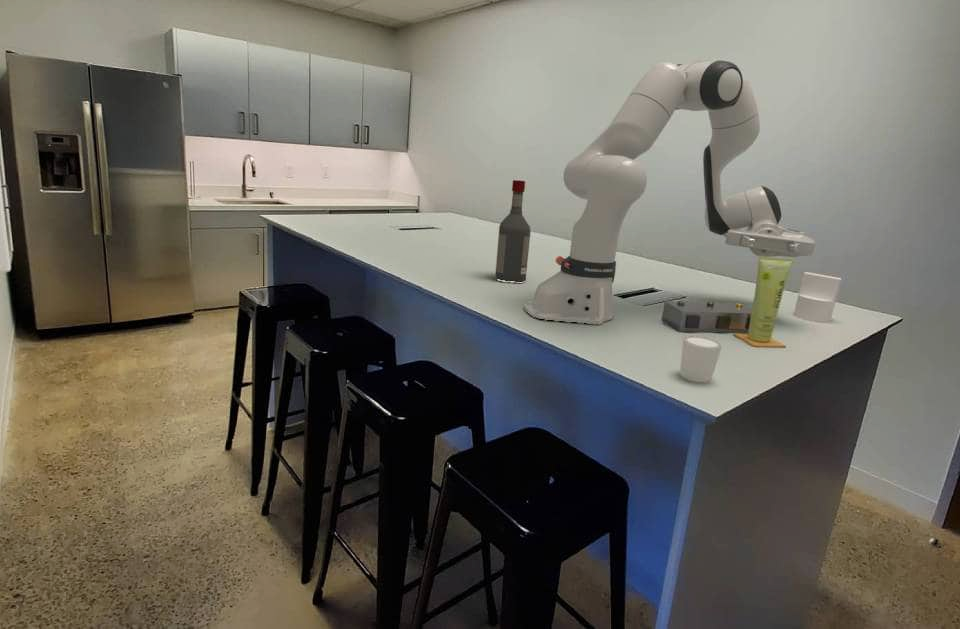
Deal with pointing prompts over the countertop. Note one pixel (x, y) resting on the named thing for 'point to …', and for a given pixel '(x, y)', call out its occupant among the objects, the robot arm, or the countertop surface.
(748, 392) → the countertop surface
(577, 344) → the countertop surface
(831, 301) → the base with upright slab
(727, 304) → the box
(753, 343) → the pad
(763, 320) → the tube
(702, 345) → the white tapered cylinder
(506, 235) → the liquor
